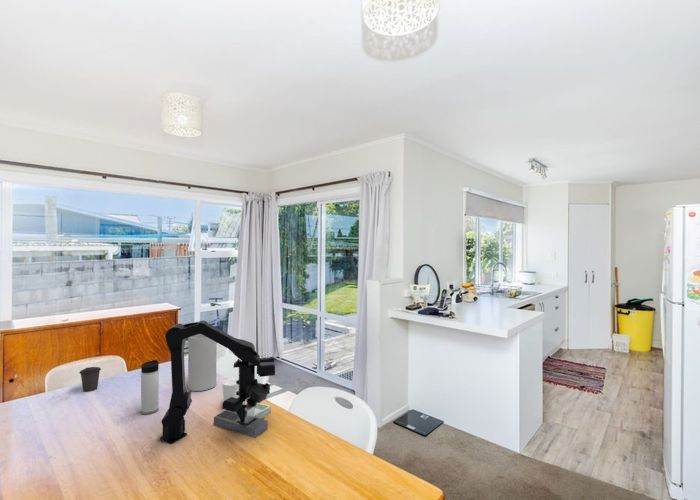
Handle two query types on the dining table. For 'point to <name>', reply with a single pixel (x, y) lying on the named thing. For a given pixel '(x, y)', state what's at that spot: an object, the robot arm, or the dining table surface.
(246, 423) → the brushed aluminium bar
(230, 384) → the white cup
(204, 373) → the cylinder vase
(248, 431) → the rail
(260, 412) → the parts tray
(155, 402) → the travel mug
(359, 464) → the dining table surface
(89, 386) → the coffee cup
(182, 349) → the robot arm
